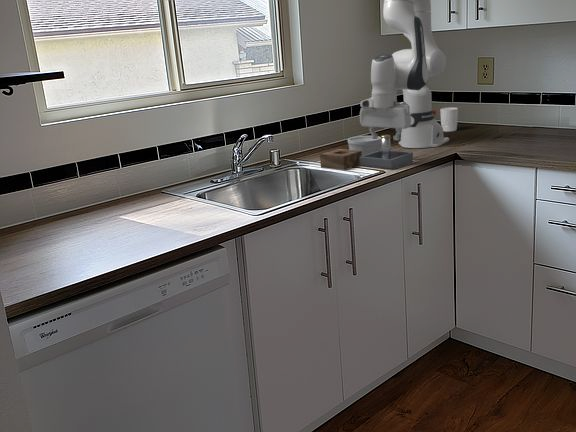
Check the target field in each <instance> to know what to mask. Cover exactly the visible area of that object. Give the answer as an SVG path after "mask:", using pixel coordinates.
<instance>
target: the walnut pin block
mask: <svg viewBox="0 0 576 432" xmlns="http://www.w3.org/2000/svg"><path fill="white" fill-rule="evenodd" d="M361 156H362V151H357V150H349V149H344V148H337V149H333V150H330V151H326V152H323V153H320V154H319V159H320V160H319V161H320V168H321V169H332V170H338V171H339V170H341V171H345V170H349V169H351V167H352V168H354V166H355V167H358V166H360V161H359V157H361Z"/></svg>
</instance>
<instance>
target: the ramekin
mask: <svg viewBox="0 0 576 432" xmlns="http://www.w3.org/2000/svg"><path fill="white" fill-rule="evenodd" d="M347 144H348V148H349V149H348V150H357V151H362V156H364V155H367V154H370V153H373V152H376V151H379V150H381V136H378V139H372V135H359V136H352V137H349V138H348V139H347Z"/></svg>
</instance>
